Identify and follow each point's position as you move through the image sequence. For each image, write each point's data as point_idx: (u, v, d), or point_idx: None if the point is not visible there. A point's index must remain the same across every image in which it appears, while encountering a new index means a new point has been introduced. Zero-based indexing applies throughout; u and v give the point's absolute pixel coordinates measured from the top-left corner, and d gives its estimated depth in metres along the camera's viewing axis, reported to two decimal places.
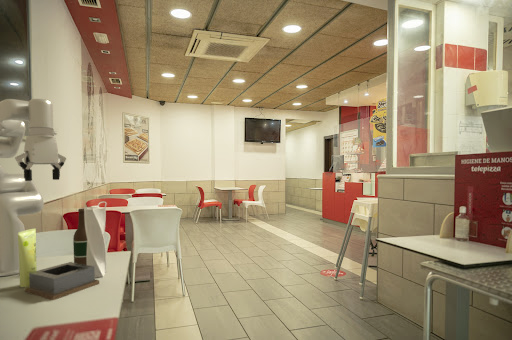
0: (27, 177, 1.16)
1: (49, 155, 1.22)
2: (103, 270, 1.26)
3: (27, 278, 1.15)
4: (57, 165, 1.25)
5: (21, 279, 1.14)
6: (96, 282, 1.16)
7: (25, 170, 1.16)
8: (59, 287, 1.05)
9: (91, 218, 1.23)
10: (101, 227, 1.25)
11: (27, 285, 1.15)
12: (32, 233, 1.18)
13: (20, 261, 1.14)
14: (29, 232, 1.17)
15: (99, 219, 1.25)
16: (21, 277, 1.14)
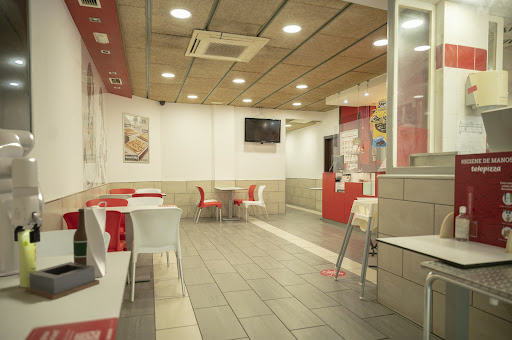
0: None
1: None
2: (103, 270, 1.26)
3: (27, 278, 1.15)
4: None
5: (21, 279, 1.14)
6: (96, 282, 1.16)
7: (36, 231, 1.14)
8: (59, 287, 1.05)
9: (91, 218, 1.23)
10: (101, 227, 1.25)
11: (27, 285, 1.15)
12: None
13: (20, 261, 1.14)
14: None
15: (99, 219, 1.25)
16: (21, 277, 1.14)
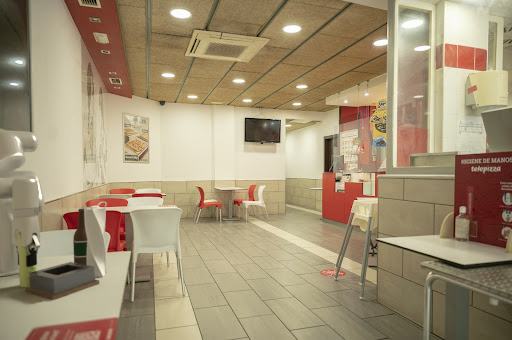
0: None
1: None
2: (103, 270, 1.26)
3: (27, 278, 1.15)
4: None
5: (21, 279, 1.14)
6: (96, 282, 1.16)
7: (33, 255, 1.15)
8: (59, 287, 1.05)
9: (91, 218, 1.23)
10: (101, 227, 1.25)
11: (27, 285, 1.15)
12: None
13: (20, 261, 1.14)
14: None
15: (99, 219, 1.25)
16: (21, 277, 1.14)
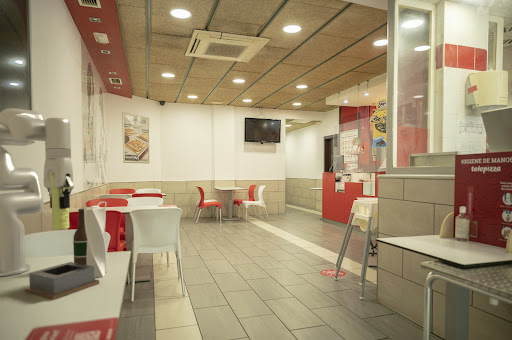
0: None
1: None
2: (103, 270, 1.26)
3: (60, 220, 1.11)
4: None
5: (54, 221, 1.11)
6: (96, 282, 1.16)
7: (66, 197, 1.12)
8: (59, 287, 1.05)
9: (91, 218, 1.23)
10: (101, 227, 1.25)
11: (60, 228, 1.11)
12: None
13: (53, 203, 1.11)
14: None
15: (99, 219, 1.25)
16: (54, 219, 1.11)
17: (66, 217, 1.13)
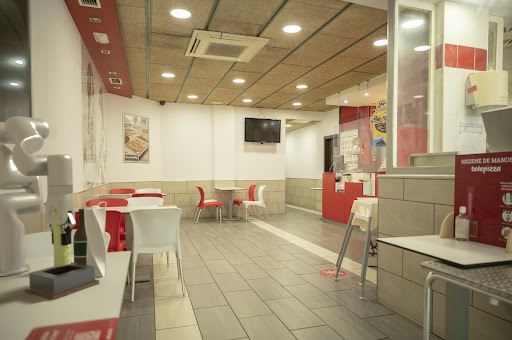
0: None
1: None
2: (103, 270, 1.26)
3: (62, 257, 1.11)
4: None
5: (56, 258, 1.11)
6: (96, 282, 1.16)
7: (68, 234, 1.12)
8: (59, 287, 1.05)
9: (91, 218, 1.23)
10: (101, 227, 1.25)
11: (62, 264, 1.11)
12: None
13: (55, 239, 1.11)
14: None
15: (99, 219, 1.25)
16: (56, 256, 1.11)
17: (67, 253, 1.13)
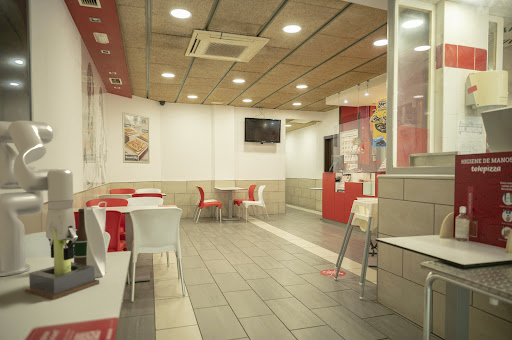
0: None
1: None
2: (103, 270, 1.26)
3: None
4: None
5: None
6: (96, 282, 1.16)
7: (70, 248, 1.11)
8: (59, 287, 1.05)
9: (91, 218, 1.23)
10: (101, 227, 1.25)
11: None
12: None
13: (55, 259, 1.11)
14: None
15: (99, 219, 1.25)
16: None
17: None
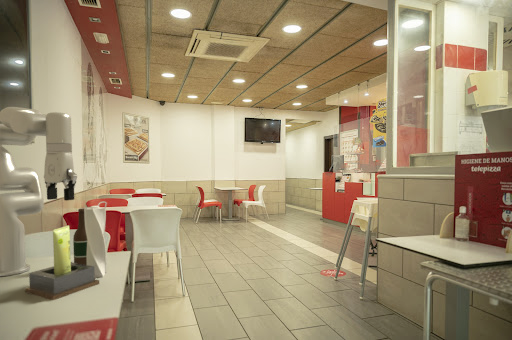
0: None
1: None
2: (103, 270, 1.26)
3: None
4: None
5: None
6: (96, 282, 1.16)
7: (71, 189, 1.11)
8: (59, 287, 1.05)
9: (91, 218, 1.23)
10: (101, 227, 1.25)
11: None
12: (66, 230, 1.15)
13: (55, 259, 1.11)
14: (63, 229, 1.14)
15: (99, 219, 1.25)
16: None
17: None
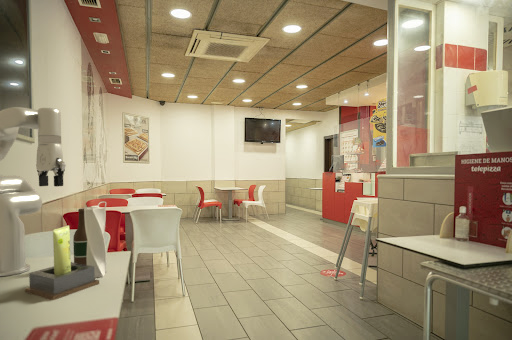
0: None
1: None
2: (103, 270, 1.26)
3: None
4: None
5: None
6: (96, 282, 1.16)
7: (60, 176, 1.23)
8: (59, 287, 1.05)
9: (91, 218, 1.23)
10: (101, 227, 1.25)
11: None
12: (66, 230, 1.15)
13: (55, 259, 1.11)
14: (63, 229, 1.14)
15: (99, 219, 1.25)
16: None
17: None
